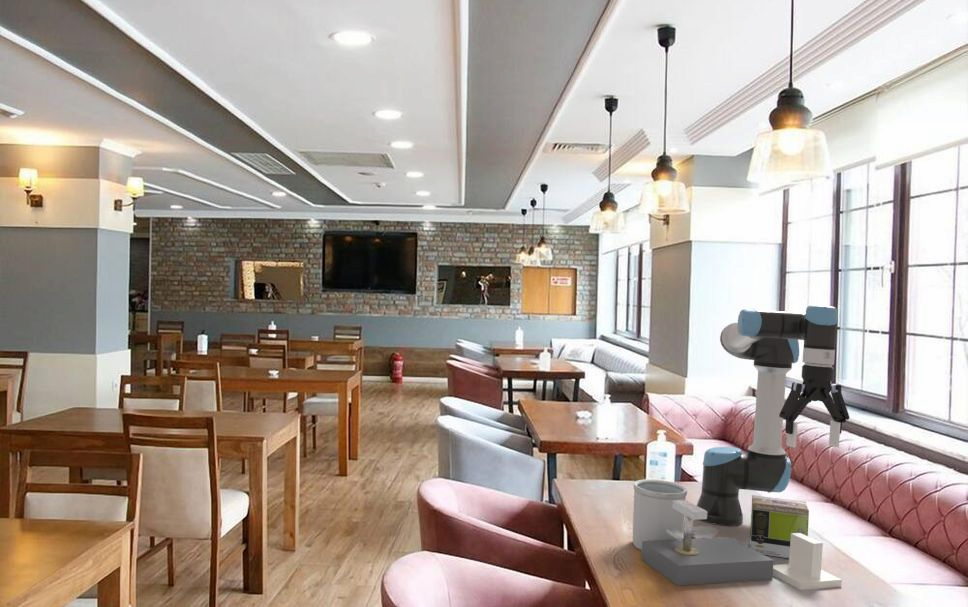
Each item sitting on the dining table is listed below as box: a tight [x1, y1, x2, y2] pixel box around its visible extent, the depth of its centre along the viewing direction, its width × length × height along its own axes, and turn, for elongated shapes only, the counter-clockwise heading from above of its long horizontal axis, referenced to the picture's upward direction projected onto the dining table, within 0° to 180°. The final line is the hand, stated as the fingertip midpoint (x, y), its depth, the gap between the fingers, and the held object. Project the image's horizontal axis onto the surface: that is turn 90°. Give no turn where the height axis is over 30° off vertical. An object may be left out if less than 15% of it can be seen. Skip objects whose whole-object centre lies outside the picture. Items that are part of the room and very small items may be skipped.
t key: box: [666, 499, 707, 551], centre depth 194 cm, size 14×4×12 cm, turn 17°
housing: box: [640, 536, 774, 587], centre depth 195 cm, size 28×18×5 cm, turn 107°
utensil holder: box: [632, 478, 688, 551], centre depth 211 cm, size 15×15×18 cm
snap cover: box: [773, 533, 843, 591], centre depth 192 cm, size 13×12×11 cm
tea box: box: [749, 495, 810, 559], centre depth 212 cm, size 15×10×15 cm, turn 71°
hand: (812, 446), depth 192 cm, fingers open, 13 cm apart
